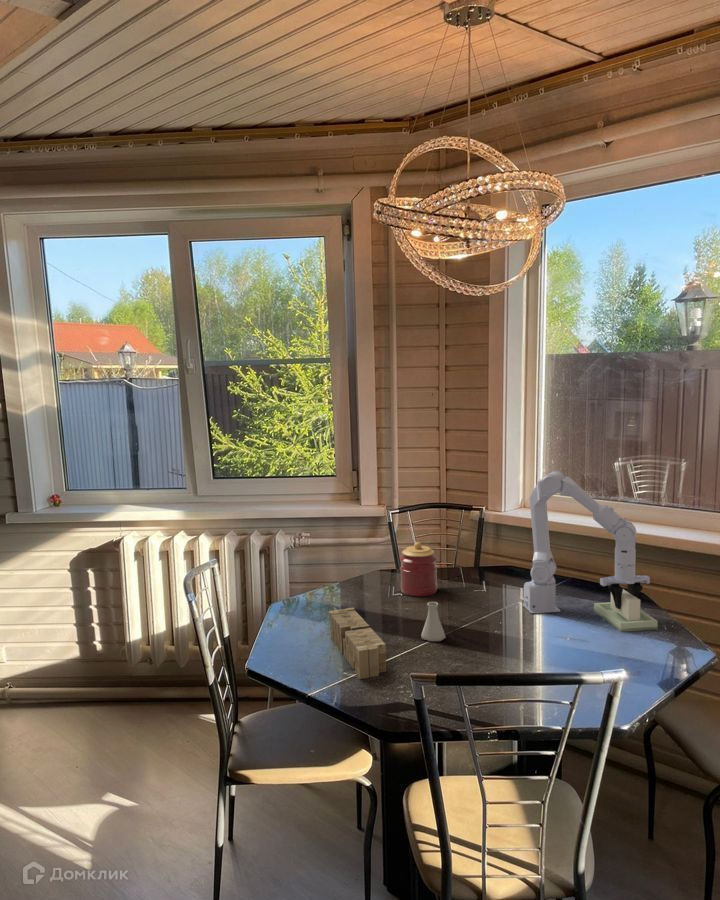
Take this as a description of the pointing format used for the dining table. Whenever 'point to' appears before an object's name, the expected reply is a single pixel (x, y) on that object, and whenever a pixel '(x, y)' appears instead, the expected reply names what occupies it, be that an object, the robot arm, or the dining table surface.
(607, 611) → the tray
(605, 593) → the dining table surface
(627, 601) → the beige rectangular block
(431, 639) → the flask
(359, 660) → the block tower
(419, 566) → the canister
